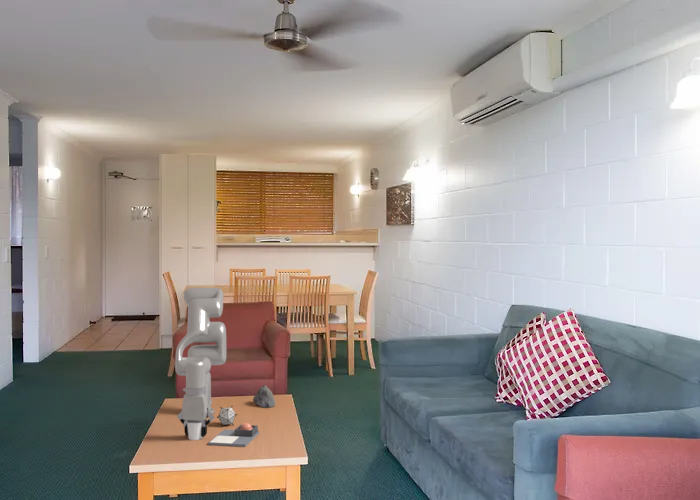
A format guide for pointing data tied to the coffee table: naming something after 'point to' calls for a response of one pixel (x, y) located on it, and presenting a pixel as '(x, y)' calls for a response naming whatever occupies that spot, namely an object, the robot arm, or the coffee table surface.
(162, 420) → the coffee table surface
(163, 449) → the coffee table surface
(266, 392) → the mineral rock
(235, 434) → the board
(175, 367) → the robot arm
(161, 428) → the coffee table surface
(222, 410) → the game die
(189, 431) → the shot glass
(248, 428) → the dome
